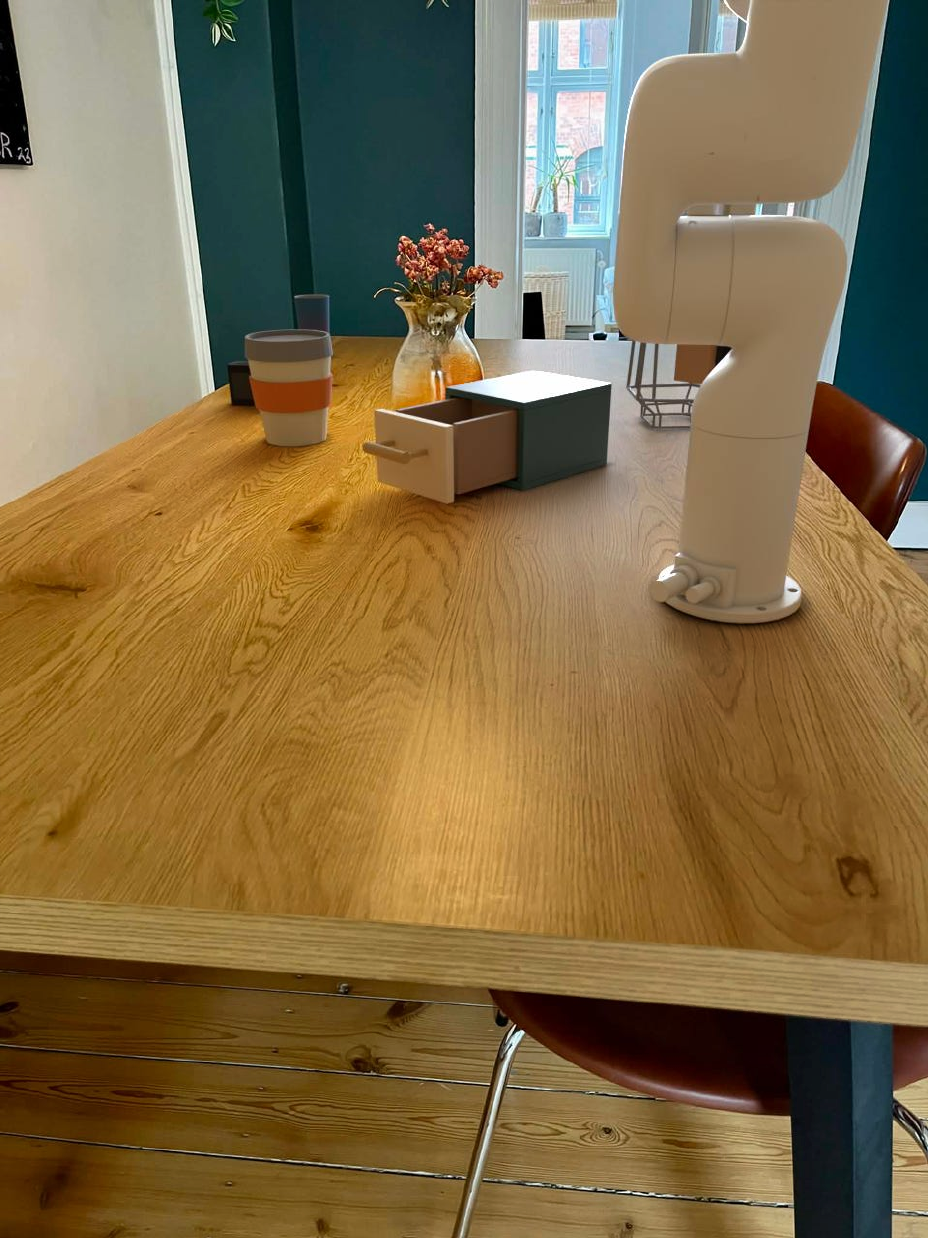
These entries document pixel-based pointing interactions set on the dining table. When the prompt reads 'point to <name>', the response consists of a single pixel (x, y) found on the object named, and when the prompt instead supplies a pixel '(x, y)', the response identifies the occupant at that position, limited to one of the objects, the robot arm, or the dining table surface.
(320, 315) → the cup
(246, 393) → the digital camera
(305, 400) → the reusable coffee cup
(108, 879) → the dining table surface
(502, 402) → the cabinet
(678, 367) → the snack box
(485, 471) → the drawer
